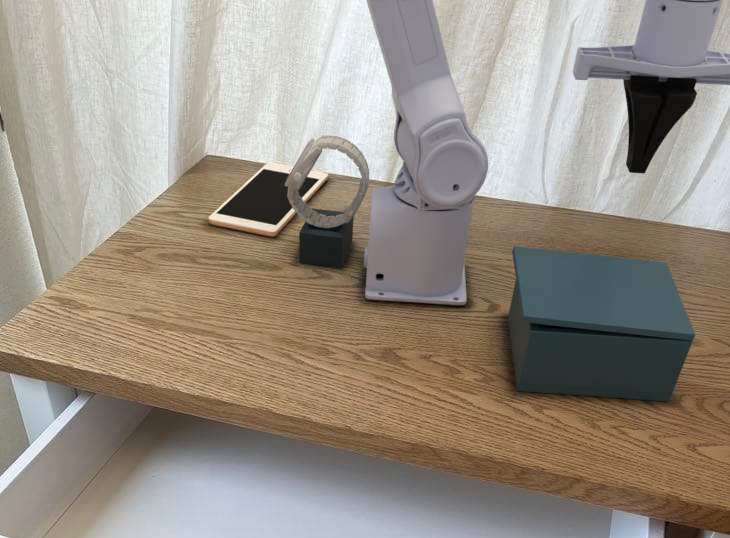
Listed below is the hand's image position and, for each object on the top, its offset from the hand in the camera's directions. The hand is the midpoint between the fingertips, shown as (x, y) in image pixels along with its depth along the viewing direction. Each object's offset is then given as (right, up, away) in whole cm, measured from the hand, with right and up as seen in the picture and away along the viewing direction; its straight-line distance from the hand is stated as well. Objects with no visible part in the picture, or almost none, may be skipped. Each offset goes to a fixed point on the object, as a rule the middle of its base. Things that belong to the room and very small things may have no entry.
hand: (635, 168), depth 75 cm
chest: (-5, -18, -3) cm, 19 cm away
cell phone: (-34, +4, +17) cm, 38 cm away
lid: (-6, -13, -7) cm, 16 cm away
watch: (-28, -4, +10) cm, 30 cm away
